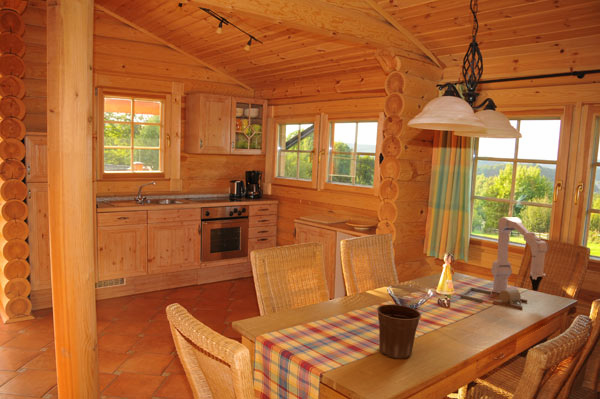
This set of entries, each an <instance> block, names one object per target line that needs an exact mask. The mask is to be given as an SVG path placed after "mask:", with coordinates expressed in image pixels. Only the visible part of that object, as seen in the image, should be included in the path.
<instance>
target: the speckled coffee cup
mask: <svg viewBox="0 0 600 399" xmlns="http://www.w3.org/2000/svg"><path fill="white" fill-rule="evenodd" d="M498 298H499V299H500V302H504V303H509V304H514V305H518V306H522V304H523V302H521V301H520V299H522V297H521V293H520V291H519V290H518V289H517V288H515V287H511V288H507V289H506V290H503V291H501V292H500V293H498ZM517 303H518V304H517Z"/></svg>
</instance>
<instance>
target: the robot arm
mask: <svg viewBox="0 0 600 399" xmlns="http://www.w3.org/2000/svg"><path fill="white" fill-rule="evenodd" d="M522 221H523V220H521V219H520V218H519V217H518V216H515V217H513V216H510V217H509V216H508V217H507V216H502V217H500V219H498V240H497V259H496V260H495V261H493V262H492V266H491V270H490V272H491V274H492V276H493V282H492V283H493V284H492V289H491V290H490V291H492V293H496V294H500V292H501V291H503V290H506V289H508V283H509V278H510V276H512V273H513V269H512V263H511V262H510V261H508V260H509V259H508V258H509V237H510V233H511V232H513V231H515V230H516V232H518V233H519V234H521V236H523V240H524V241H525V242H526V244H528V245H529V247H530V248H529V249H530V251H531V252H530V253H531V264H530V272H529V274H530V275H529V280H530V283H531V287H532V288H531V289H532V291H534V292H538V290H539V287H540V284H541V282H542V280H543V279H544V277H546V273H544V269H545V260H546V253H547V252H548V251H549V248H550V247H549V243H548V242H547V241H545V240H542V239H540V237H539V236H537V235H536V233H535V232H533V231H529V230H528V229H527V228H526V226H525V225H524V224H523V222H522Z"/></svg>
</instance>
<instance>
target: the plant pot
mask: <svg viewBox="0 0 600 399" xmlns="http://www.w3.org/2000/svg"><path fill="white" fill-rule="evenodd" d="M376 311H377V313H378V314H377V315H378V317H377V319H378V320H377V321H378V326H379V327H378V330H379V331H378V332H379V339H378V340H379V347H378V348H379V352H380V353H381V354H383V355H386V356H387V357H389V358H392V359H398V360H401V359H407V358H410V357H411V356H412V354H413V350H414V349H413V348H414V343H415V338H416V332H417V329H418V326H419V322H420V319H421V317H422V313H421V311H419V310H417V309H415V308H414V307H410V306H406V305H402V304H392V303H391V304H383V305H379V306H377V307H376Z"/></svg>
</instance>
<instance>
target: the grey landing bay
mask: <svg viewBox="0 0 600 399" xmlns="http://www.w3.org/2000/svg"><path fill="white" fill-rule="evenodd" d="M472 291H473V292H479V293H483V294H488V295H492V293H493V292H492V291H491V290H487V289H482V288H477V287H471V286H469V288H468V289H466V290H465V291H463V293H461V294H460V298H461V299H465V300H470V301H475V302H479V303H482V302H483V303H484V299H483V298H478V297H476V296H475V297H473V296H470V295H468V294H470V292H472Z"/></svg>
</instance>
